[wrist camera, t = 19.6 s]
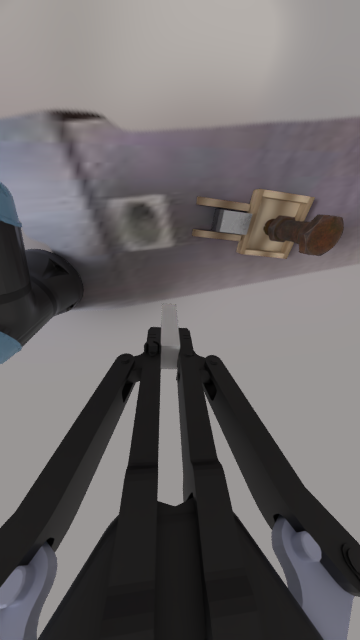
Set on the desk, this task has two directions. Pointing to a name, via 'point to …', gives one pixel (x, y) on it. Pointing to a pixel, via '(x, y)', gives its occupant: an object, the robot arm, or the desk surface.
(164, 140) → the desk surface
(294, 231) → the bolt
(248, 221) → the grey rectangular block
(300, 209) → the socket
